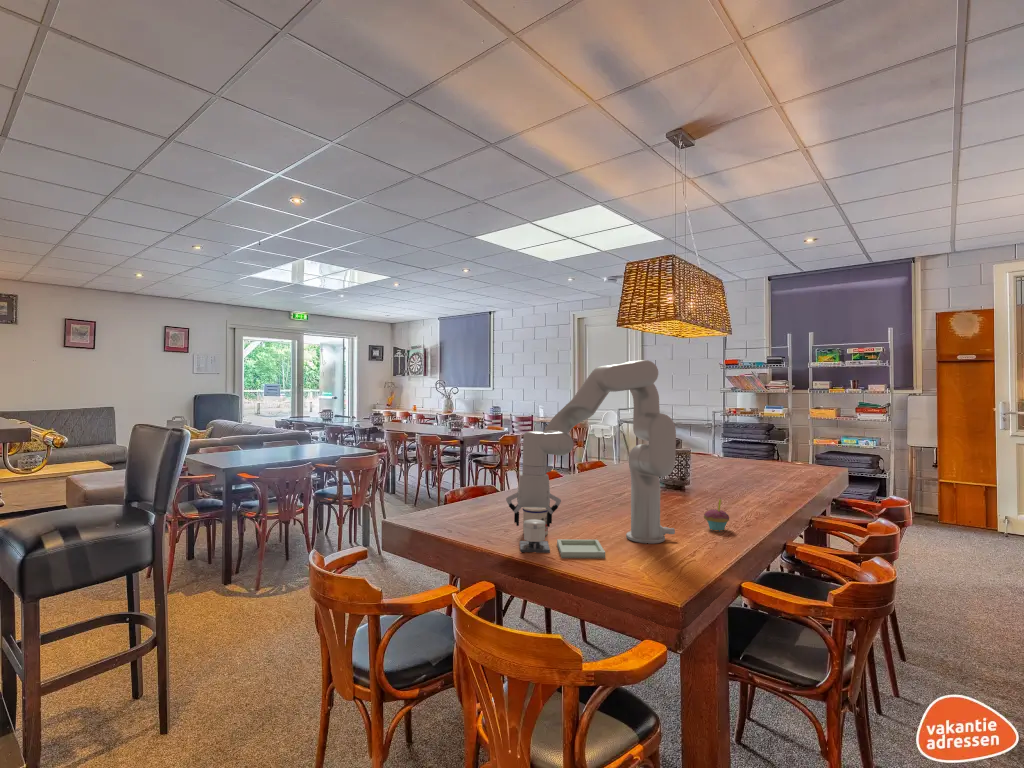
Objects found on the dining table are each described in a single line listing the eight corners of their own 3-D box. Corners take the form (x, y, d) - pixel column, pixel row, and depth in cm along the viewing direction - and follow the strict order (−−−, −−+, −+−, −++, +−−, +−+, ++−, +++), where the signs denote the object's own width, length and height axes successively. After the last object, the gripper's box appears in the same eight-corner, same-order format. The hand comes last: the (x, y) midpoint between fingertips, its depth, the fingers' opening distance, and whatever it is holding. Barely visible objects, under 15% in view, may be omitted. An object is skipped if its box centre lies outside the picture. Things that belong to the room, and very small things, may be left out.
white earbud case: (544, 535, 164) (544, 519, 164) (546, 542, 157) (546, 525, 157) (523, 535, 164) (523, 519, 164) (524, 542, 157) (524, 525, 157)
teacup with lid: (542, 538, 171) (542, 503, 172) (518, 535, 176) (518, 501, 176) (555, 530, 182) (555, 497, 182) (532, 527, 186) (532, 494, 186)
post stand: (547, 544, 165) (547, 522, 166) (549, 552, 156) (550, 529, 156) (519, 544, 165) (519, 522, 165) (520, 552, 156) (520, 529, 156)
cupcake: (734, 531, 182) (734, 497, 182) (716, 533, 179) (716, 499, 179) (716, 525, 190) (716, 493, 190) (698, 527, 187) (698, 494, 187)
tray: (597, 545, 165) (597, 539, 165) (605, 558, 152) (605, 552, 152) (557, 545, 164) (557, 539, 164) (561, 558, 151) (561, 552, 151)
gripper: (560, 469, 165) (559, 523, 165) (506, 468, 165) (505, 521, 164) (563, 473, 158) (561, 529, 157) (506, 471, 157) (505, 527, 157)
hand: (532, 525), depth 161 cm, fingers open, 9 cm apart
